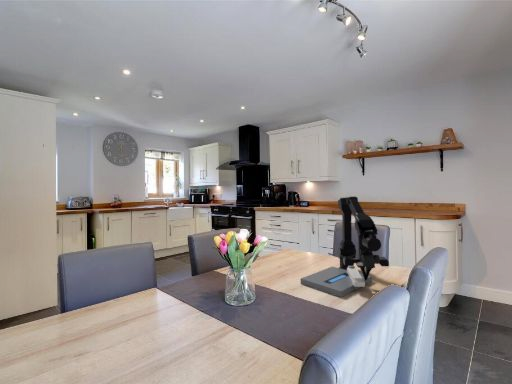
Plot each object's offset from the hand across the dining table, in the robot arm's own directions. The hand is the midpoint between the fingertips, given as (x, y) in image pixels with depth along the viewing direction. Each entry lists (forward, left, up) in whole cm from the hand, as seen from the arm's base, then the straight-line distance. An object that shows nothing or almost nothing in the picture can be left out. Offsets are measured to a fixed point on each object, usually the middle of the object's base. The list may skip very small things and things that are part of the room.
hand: (365, 279), depth 124 cm
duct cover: (-5, 0, 0) cm, 5 cm away
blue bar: (-13, -4, -2) cm, 14 cm away
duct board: (-12, -5, -3) cm, 14 cm away
